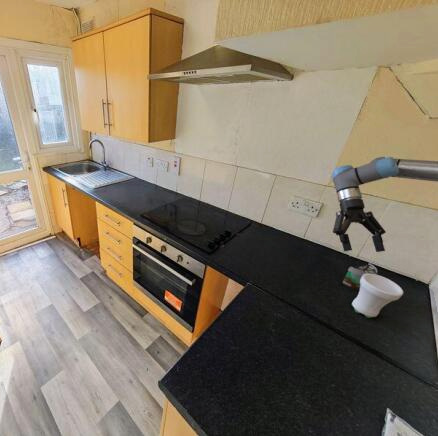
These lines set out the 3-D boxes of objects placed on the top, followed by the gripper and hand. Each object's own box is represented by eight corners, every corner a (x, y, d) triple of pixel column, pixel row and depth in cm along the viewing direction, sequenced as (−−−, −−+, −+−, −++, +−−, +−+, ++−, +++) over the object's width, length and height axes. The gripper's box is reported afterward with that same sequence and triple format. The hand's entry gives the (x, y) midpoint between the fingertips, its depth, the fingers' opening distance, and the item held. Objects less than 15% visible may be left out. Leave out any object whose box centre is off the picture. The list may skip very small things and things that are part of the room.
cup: (372, 304, 92) (391, 277, 85) (388, 327, 82) (412, 299, 76) (340, 296, 94) (356, 270, 88) (352, 317, 85) (372, 290, 78)
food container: (353, 294, 96) (365, 276, 92) (339, 283, 101) (349, 266, 97) (373, 289, 99) (386, 271, 95) (359, 279, 105) (370, 262, 100)
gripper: (369, 205, 99) (384, 253, 93) (315, 203, 98) (326, 251, 92) (387, 198, 92) (404, 250, 86) (329, 196, 91) (342, 248, 85)
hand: (364, 251), depth 89 cm, fingers open, 13 cm apart
